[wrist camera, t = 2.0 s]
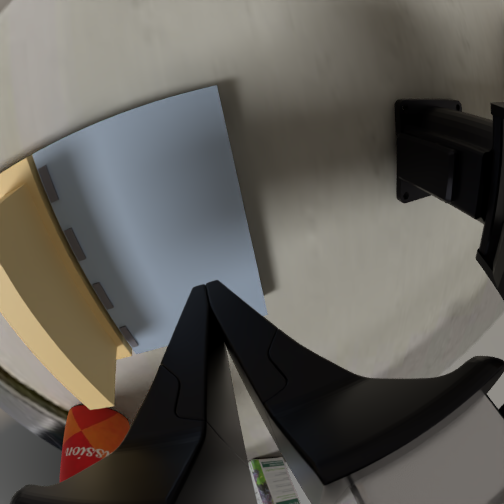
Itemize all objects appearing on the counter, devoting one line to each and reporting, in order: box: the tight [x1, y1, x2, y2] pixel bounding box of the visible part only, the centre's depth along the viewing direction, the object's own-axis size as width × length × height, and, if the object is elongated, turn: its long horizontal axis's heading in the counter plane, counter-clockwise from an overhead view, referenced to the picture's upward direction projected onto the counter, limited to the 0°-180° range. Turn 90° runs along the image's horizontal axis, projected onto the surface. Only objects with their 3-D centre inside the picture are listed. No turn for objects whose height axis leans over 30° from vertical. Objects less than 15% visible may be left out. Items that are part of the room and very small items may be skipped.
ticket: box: [32, 85, 268, 354], centre depth 13 cm, size 8×12×2 cm, turn 11°
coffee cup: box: [60, 405, 130, 482], centre depth 14 cm, size 8×8×15 cm
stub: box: [0, 155, 132, 410], centre depth 10 cm, size 6×12×6 cm, turn 11°
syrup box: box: [248, 457, 301, 504], centre depth 29 cm, size 6×6×14 cm
